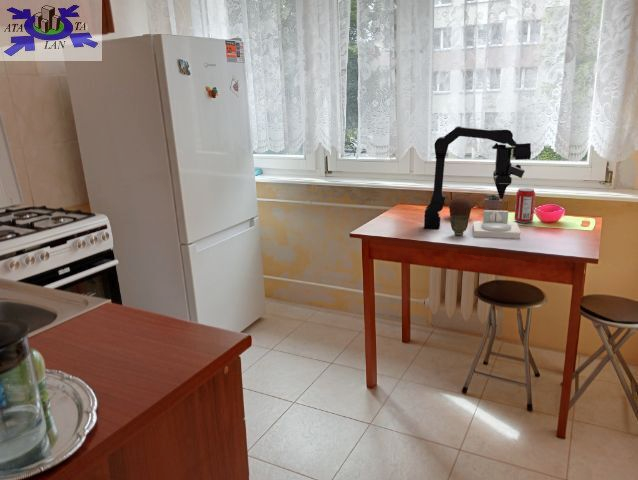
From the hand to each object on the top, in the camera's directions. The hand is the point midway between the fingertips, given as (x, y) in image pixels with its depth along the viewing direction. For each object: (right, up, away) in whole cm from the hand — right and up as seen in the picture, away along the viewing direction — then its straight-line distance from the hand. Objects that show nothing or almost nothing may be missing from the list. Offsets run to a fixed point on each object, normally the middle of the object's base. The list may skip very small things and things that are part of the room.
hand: (500, 196), depth 207 cm
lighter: (+7, -6, +29) cm, 31 cm away
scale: (-2, -15, +1) cm, 15 cm away
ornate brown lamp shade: (-18, -17, -1) cm, 25 cm away
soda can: (+16, -10, +16) cm, 25 cm away
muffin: (-10, -8, +26) cm, 29 cm away
